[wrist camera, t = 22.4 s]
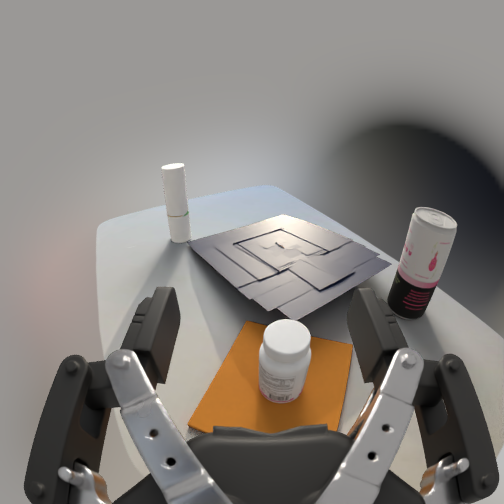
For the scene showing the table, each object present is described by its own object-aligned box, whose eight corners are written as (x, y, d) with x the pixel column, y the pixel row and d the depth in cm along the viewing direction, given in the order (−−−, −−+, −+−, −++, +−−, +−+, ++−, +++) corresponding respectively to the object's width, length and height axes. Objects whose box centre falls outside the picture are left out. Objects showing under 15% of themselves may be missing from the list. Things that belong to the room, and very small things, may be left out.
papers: (281, 345, 30) (280, 322, 29) (187, 255, 54) (184, 238, 52) (395, 274, 42) (398, 255, 40) (285, 225, 65) (285, 210, 63)
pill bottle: (282, 360, 29) (288, 308, 25) (312, 386, 26) (327, 337, 22) (249, 382, 27) (247, 332, 23) (278, 412, 24) (286, 368, 19)
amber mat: (326, 467, 19) (327, 466, 18) (188, 426, 23) (187, 423, 22) (351, 347, 31) (353, 344, 31) (246, 323, 35) (246, 320, 35)
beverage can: (424, 299, 38) (454, 215, 30) (422, 326, 33) (461, 234, 25) (389, 288, 41) (413, 202, 33) (383, 314, 36) (413, 219, 28)
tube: (175, 245, 53) (165, 170, 45) (168, 236, 56) (158, 166, 48) (195, 238, 55) (187, 165, 47) (186, 230, 58) (179, 162, 50)
